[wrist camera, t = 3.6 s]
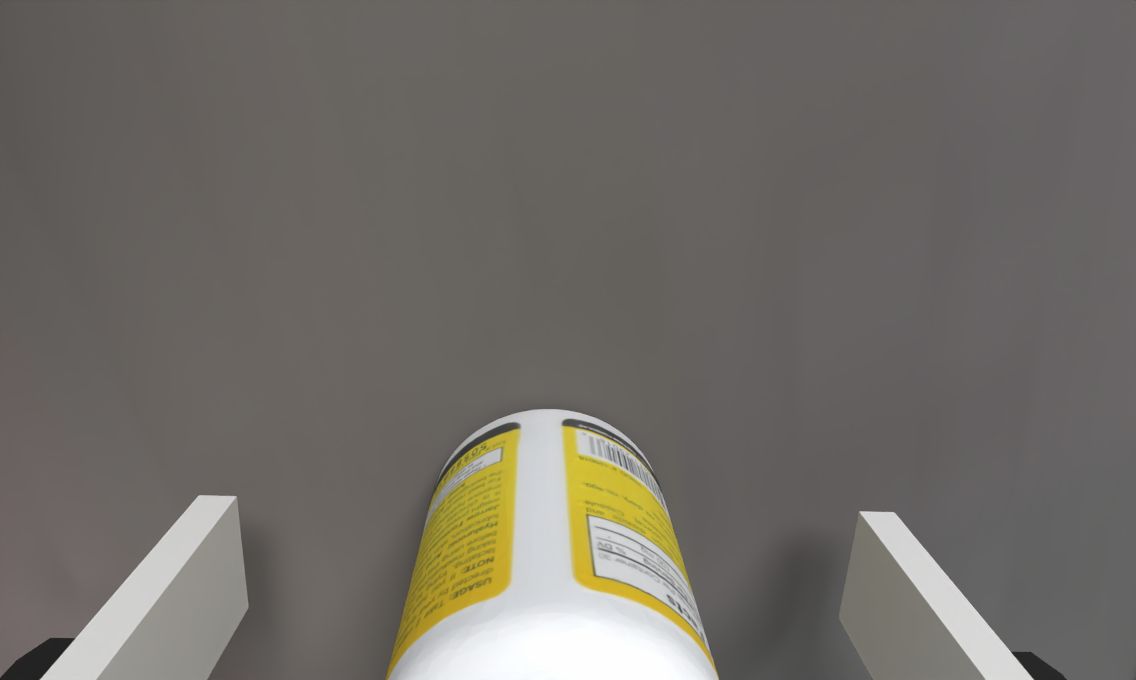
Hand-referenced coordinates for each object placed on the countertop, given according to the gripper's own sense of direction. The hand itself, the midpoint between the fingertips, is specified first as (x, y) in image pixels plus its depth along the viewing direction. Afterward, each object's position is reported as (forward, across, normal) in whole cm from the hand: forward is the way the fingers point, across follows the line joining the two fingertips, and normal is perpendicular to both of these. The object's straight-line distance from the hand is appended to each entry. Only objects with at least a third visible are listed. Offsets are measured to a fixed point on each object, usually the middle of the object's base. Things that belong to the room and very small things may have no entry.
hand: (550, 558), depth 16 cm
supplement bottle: (+2, 0, 0) cm, 2 cm away
